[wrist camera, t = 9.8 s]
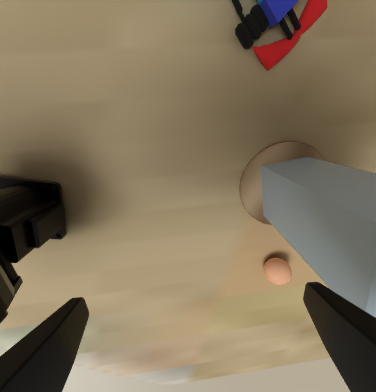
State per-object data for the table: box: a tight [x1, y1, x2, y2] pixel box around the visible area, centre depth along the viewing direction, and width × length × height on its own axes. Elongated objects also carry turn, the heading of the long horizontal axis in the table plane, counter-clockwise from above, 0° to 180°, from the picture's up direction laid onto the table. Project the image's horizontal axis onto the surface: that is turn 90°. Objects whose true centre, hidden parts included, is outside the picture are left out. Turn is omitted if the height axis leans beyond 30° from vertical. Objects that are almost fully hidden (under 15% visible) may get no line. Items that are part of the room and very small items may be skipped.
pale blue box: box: [261, 157, 376, 318], centre depth 14 cm, size 5×6×12 cm
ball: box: [264, 258, 292, 285], centre depth 22 cm, size 3×3×3 cm
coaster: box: [240, 142, 325, 225], centre depth 20 cm, size 9×9×1 cm
